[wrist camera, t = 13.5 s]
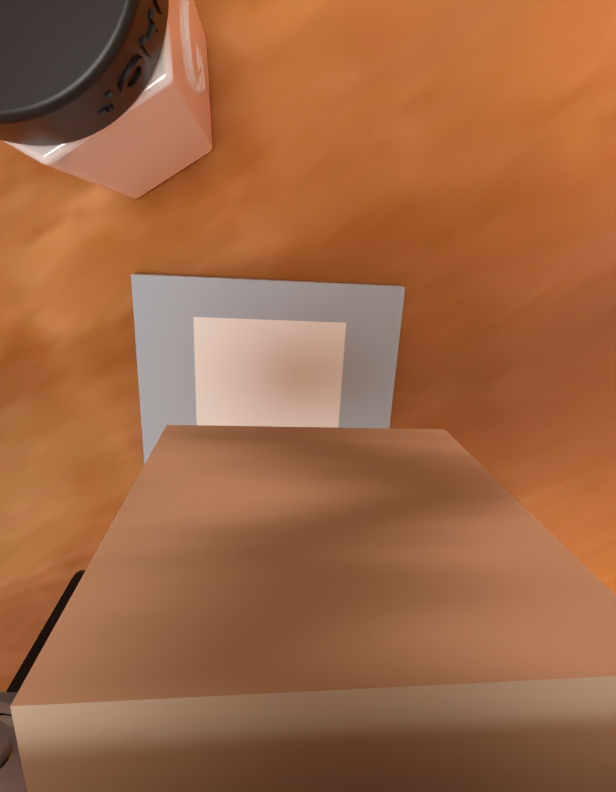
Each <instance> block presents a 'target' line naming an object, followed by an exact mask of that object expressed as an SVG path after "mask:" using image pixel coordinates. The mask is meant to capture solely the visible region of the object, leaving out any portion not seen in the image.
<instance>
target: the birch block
mask: <svg viewBox="0 0 616 792" xmlns="http://www.w3.org/2000/svg"><path fill="white" fill-rule="evenodd" d="M10 708H11V714H12V719H13V724H14V729H15V734H16V739H17V744H18V749H19V754H20V759H21V764H22V769H23V774H24V779H25V784H26V789H27V792H616V595H615V594H614V593H613V592H612V591H611V590H610V589H609V588H608V587H607V586H606V585H605V584H604V583H603V582H602V581H601V580H600V579H599V578H598V577H597V576H596V575H595V574H594V573H593V572H592V571H590V570H589V569H588V568H587V567H586V566H585V565H584V564H583V563H582V562H581V561H580V560H579V559H578V558H577V557H576V556H575V555H574V554H573V553H572V552H571V551H570V550H569V549H568V548H567V547H566V546H565V545H564V544H563V543H562V542H561V541H560V540H559V539H557V538H556V537H555V536H554V535H553V534H552V533H551V532H550V531H549V530H548V529H547V528H546V527H545V526H544V525H543V524H542V523H541V522H540V521H539V520H538V519H537V518H536V517H535V516H534V515H533V514H532V513H531V512H530V511H529V510H528V509H527V508H525V507H524V506H523V505H522V504H521V503H520V502H519V501H518V500H517V499H516V498H515V497H514V496H513V495H512V494H511V493H510V492H509V491H508V490H507V489H506V488H505V487H504V486H503V485H502V484H501V483H500V482H499V481H498V480H497V479H496V478H495V477H494V476H492V475H491V474H490V473H489V472H488V471H487V470H486V469H485V468H484V467H483V466H482V465H481V464H480V463H479V462H478V461H477V460H476V459H475V458H474V457H473V456H472V455H471V454H470V453H469V452H468V451H467V450H466V449H465V448H464V447H463V446H462V445H461V444H459V443H458V442H457V441H456V440H455V439H454V438H453V437H452V436H451V435H450V434H449V433H448V432H447V431H446V430H445V429H393V428H332V427H270V426H209V425H166V427H165V429H164V431H163V432H162V434H161V436H160V438H159V440H158V441H157V443H156V445H155V447H154V449H153V450H152V452H151V454H150V456H149V458H148V459H147V461H146V463H145V465H144V467H143V468H142V470H141V472H140V474H139V476H138V477H137V479H136V481H135V483H134V484H133V486H132V488H131V490H130V492H129V493H128V495H127V497H126V499H125V501H124V502H123V504H122V506H121V508H120V510H119V511H118V513H117V515H116V517H115V519H114V520H113V522H112V524H111V526H110V528H109V529H108V531H107V533H106V535H105V537H104V538H103V540H102V542H101V544H100V546H99V547H98V549H97V551H96V553H95V555H94V556H93V558H92V560H91V562H90V564H89V565H88V567H87V569H86V571H85V573H84V574H83V576H82V578H81V580H80V582H79V583H78V585H77V587H76V589H75V591H74V592H73V594H72V596H71V598H70V600H69V601H68V603H67V605H66V607H65V609H64V610H63V612H62V614H61V616H60V618H59V619H58V621H57V623H56V625H55V627H54V628H53V630H52V632H51V634H50V636H49V637H48V639H47V641H46V643H45V645H44V646H43V648H42V650H41V652H40V653H39V655H38V657H37V659H36V661H35V662H34V664H33V666H32V668H31V670H30V671H29V673H28V675H27V677H26V679H25V680H24V682H23V684H22V686H21V688H20V689H19V691H18V693H17V695H16V697H15V698H14V700H13V702H12V704H11V706H10Z"/></svg>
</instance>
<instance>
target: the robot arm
mask: <svg viewBox="0 0 616 792" xmlns="http://www.w3.org/2000/svg"><path fill="white" fill-rule="evenodd" d="M85 571H86V570H83V571H79V572H77V573H76V574H75V575H74V577H73V578H72V579H71V581H70V583H69V585H68V586H67V588H66V590H65V592H64V593H63V595H62V597H61V598H60V600H59V602H58V604H57V605H56V607H55V609H54V610H53V612H52V614H51V616H50V617H49V619H48V621H47V622H46V624H45V626H44V628H43V629H42V631H41V633H40V634H39V636H38V638H37V640H36V641H35V643H34V645H33V646H32V648H31V650H30V652H29V653H28V655H27V657H26V658H25V660H24V662H23V664H22V665H21V667H20V669H19V670H18V672H17V674H16V676H15V677H14V679H13V681H12V682H11V684H10V686H9V688H8V689H7V691H6V692H0V792H27V789H26V784H25V779H24V774H23V769H22V764H21V759H20V754H19V749H18V744H17V739H16V734H15V729H14V724H13V719H12V714H11V708H10V706H11V704H12V702H13V700H14V698H15V697H16V695H17V693H18V691H19V689H20V688H21V686H22V684H23V682H24V680H25V679H26V677H27V675H28V673H29V671H30V670H31V668H32V666H33V664H34V662H35V661H36V659H37V657H38V655H39V653H40V652H41V650H42V648H43V646H44V645H45V643H46V641H47V639H48V637H49V636H50V634H51V632H52V630H53V628H54V627H55V625H56V623H57V621H58V619H59V618H60V616H61V614H62V612H63V610H64V609H65V607H66V605H67V603H68V601H69V600H70V598H71V596H72V594H73V592H74V591H75V589H76V587H77V585H78V583H79V582H80V580H81V578H82V576H83V574H84V573H85Z"/></svg>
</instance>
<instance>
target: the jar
mask: <svg viewBox="0 0 616 792" xmlns="http://www.w3.org/2000/svg"><path fill="white" fill-rule="evenodd" d="M0 140H2V141H3V142H5V143H7V144H9V145H10V146H12V147H14V148H16V149H17V150H19V151H21V152H23V153H24V154H26V155H28V156H30V157H31V158H33V159H35V160H37V161H38V162H40V163H42V164H44V165H46V166H49V167H52V168H54V169H57V170H59V171H62V172H65V173H67V174H70V175H72V176H75V177H77V178H80V179H83V180H85V181H88V182H90V183H93V184H95V185H98V186H101V187H103V188H106V189H108V190H111V191H113V192H116V193H119V194H121V195H124V196H126V197H129V198H132V199H137V198H139V197H141V196H142V195H144V194H145V193H147V192H148V191H150V190H151V189H153V188H154V187H156V186H158V185H159V184H161V183H162V182H164V181H165V180H167V179H168V178H170V177H171V176H173V175H175V174H176V173H178V172H179V171H181V170H182V169H184V168H185V167H187V166H189V165H190V164H192V163H193V162H195V161H196V160H198V159H200V158H201V157H203V156H204V155H206V154H207V153H209V152H210V151H211V150H212V130H211V113H210V96H209V78H208V61H207V43H206V38H205V34H204V31H203V28H202V25H201V21H200V18H199V15H198V11H197V8H196V5H195V2H194V0H0Z"/></svg>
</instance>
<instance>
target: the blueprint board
mask: <svg viewBox="0 0 616 792" xmlns="http://www.w3.org/2000/svg"><path fill="white" fill-rule="evenodd" d="M131 284H132V298H133V312H134V326H135V340H136V354H137V368H138V383H139V397H140V411H141V425H142V439H143V453H144V465H145V463H146V461H147V459H148V458H149V456H150V454H151V452H152V450H153V449H154V447H155V445H156V443H157V441H158V440H159V438H160V436H161V434H162V432H163V431H164V429H165V427H166V425H209V426H270V427H332V428H389V427H390V418H391V409H392V401H393V392H394V383H395V374H396V365H397V356H398V347H399V338H400V329H401V321H402V312H403V303H404V294H405V286H401V285H381V284H359V283H337V282H315V281H293V280H272V279H250V278H228V277H206V276H184V275H162V274H140V273H136V274H131Z"/></svg>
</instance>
